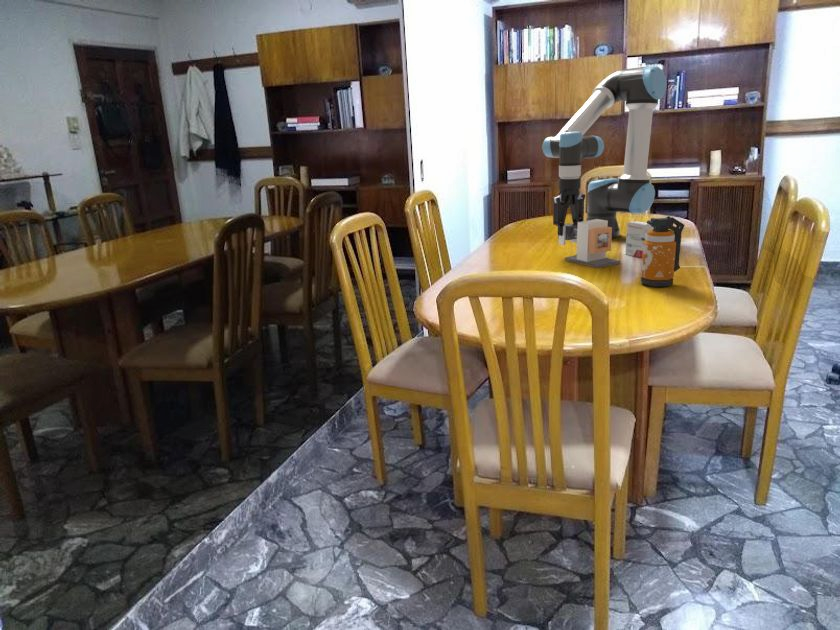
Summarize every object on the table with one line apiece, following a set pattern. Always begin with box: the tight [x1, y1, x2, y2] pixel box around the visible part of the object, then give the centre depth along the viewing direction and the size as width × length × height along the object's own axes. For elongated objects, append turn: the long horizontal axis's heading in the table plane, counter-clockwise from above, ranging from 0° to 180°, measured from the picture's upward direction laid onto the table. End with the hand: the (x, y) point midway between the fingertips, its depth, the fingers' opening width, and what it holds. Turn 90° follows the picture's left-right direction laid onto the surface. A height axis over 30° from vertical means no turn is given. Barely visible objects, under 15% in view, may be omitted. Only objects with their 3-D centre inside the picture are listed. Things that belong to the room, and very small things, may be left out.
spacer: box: [588, 227, 613, 254], centre depth 209 cm, size 2×8×8 cm, turn 120°
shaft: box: [557, 222, 609, 243], centre depth 215 cm, size 20×5×5 cm, turn 30°
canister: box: [640, 215, 686, 288], centre depth 180 cm, size 9×11×20 cm
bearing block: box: [564, 219, 621, 269], centre depth 212 cm, size 16×10×14 cm, turn 30°
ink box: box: [624, 220, 654, 259], centre depth 218 cm, size 8×5×12 cm, turn 26°
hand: (567, 243), depth 223 cm, fingers closed on shaft, 5 cm apart
